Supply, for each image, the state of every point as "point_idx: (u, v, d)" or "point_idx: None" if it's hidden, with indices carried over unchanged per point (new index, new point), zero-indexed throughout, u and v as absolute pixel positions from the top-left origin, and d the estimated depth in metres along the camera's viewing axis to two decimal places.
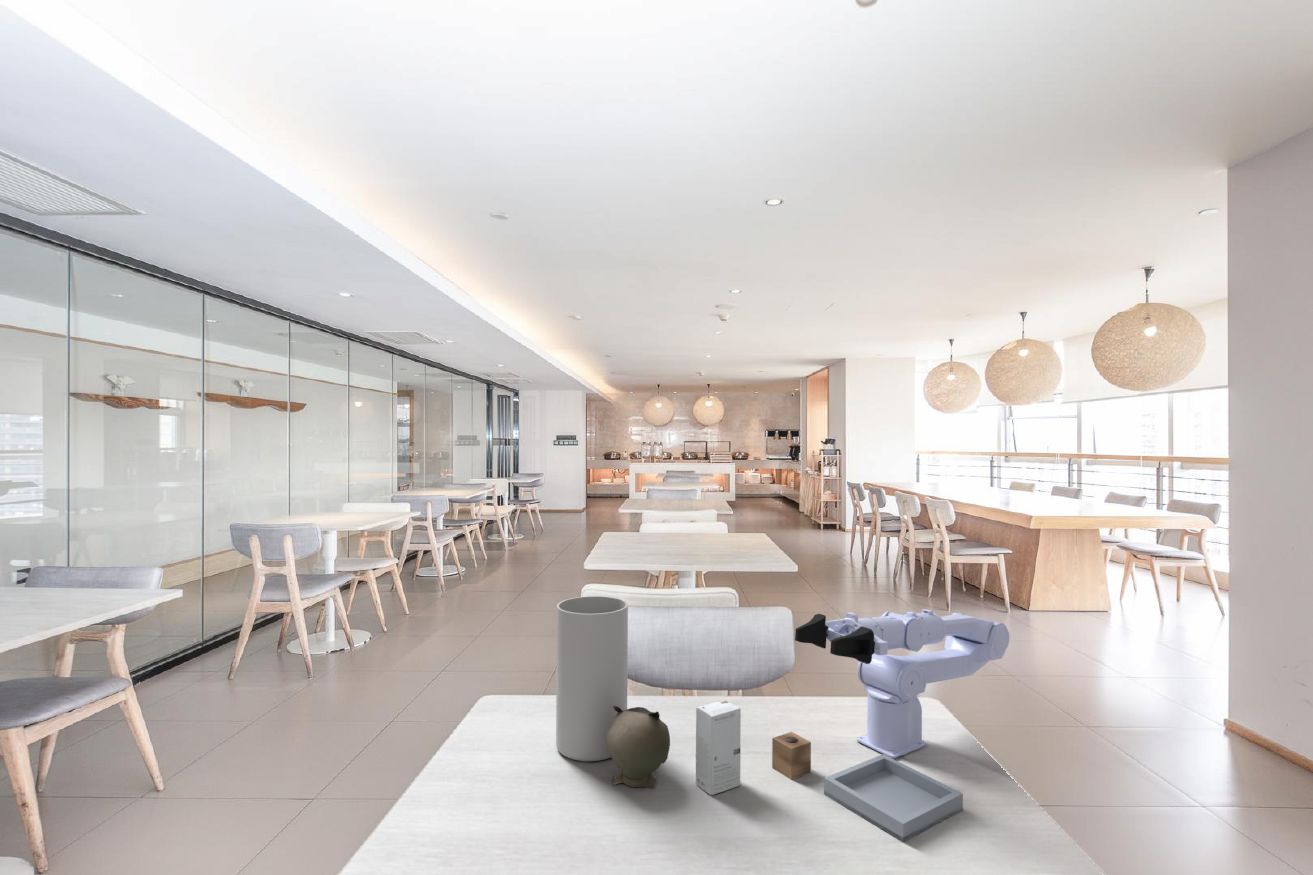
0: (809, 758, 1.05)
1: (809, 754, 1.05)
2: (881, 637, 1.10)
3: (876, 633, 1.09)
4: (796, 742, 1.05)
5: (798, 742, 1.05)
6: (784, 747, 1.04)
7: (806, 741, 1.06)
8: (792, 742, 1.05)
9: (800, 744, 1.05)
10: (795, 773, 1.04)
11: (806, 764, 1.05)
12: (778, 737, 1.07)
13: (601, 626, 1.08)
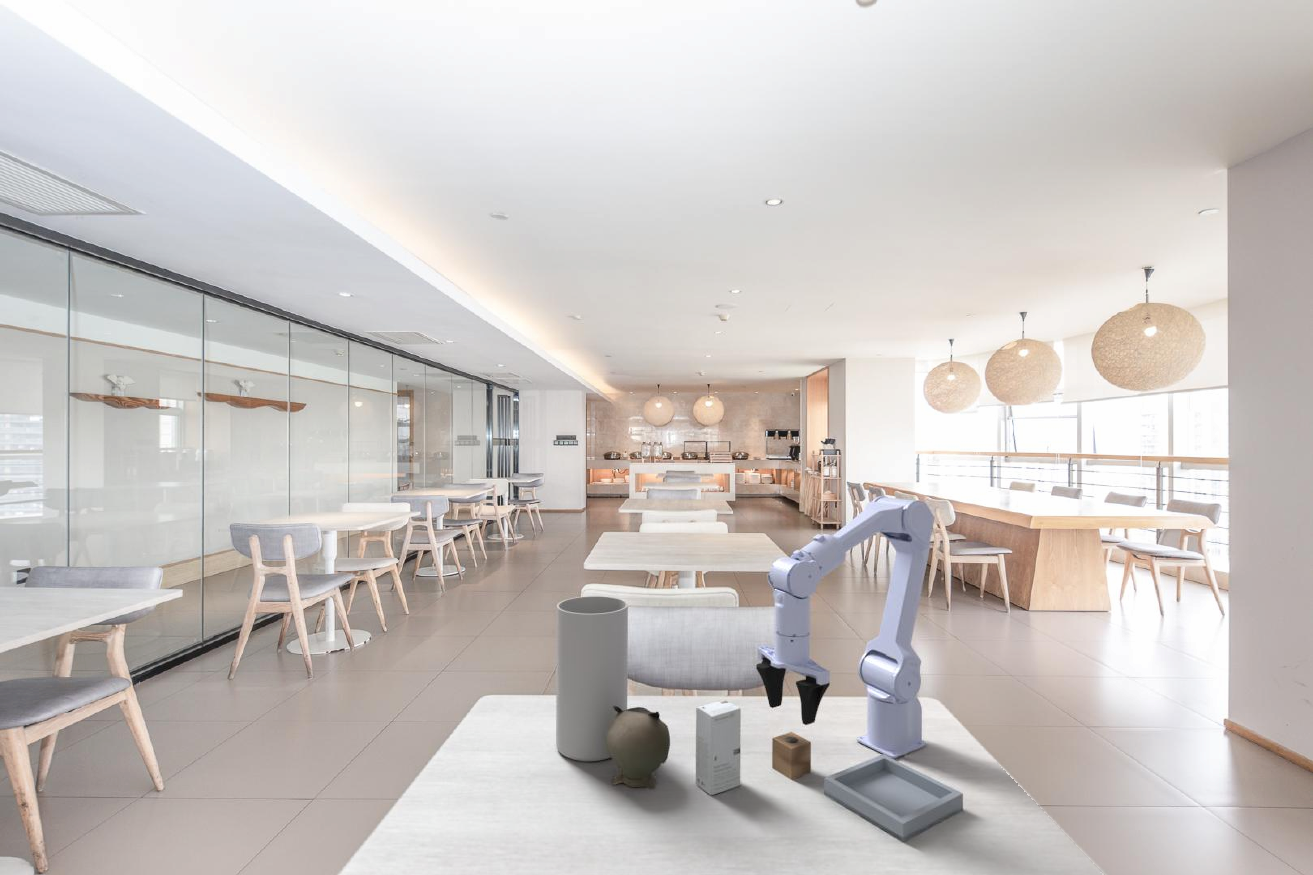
0: (809, 758, 1.05)
1: (809, 754, 1.05)
2: (803, 638, 1.04)
3: (799, 645, 1.03)
4: (796, 742, 1.05)
5: (798, 742, 1.05)
6: (784, 747, 1.04)
7: (806, 741, 1.06)
8: (792, 743, 1.05)
9: (800, 744, 1.05)
10: (795, 773, 1.04)
11: (806, 764, 1.05)
12: (778, 737, 1.07)
13: (601, 626, 1.08)
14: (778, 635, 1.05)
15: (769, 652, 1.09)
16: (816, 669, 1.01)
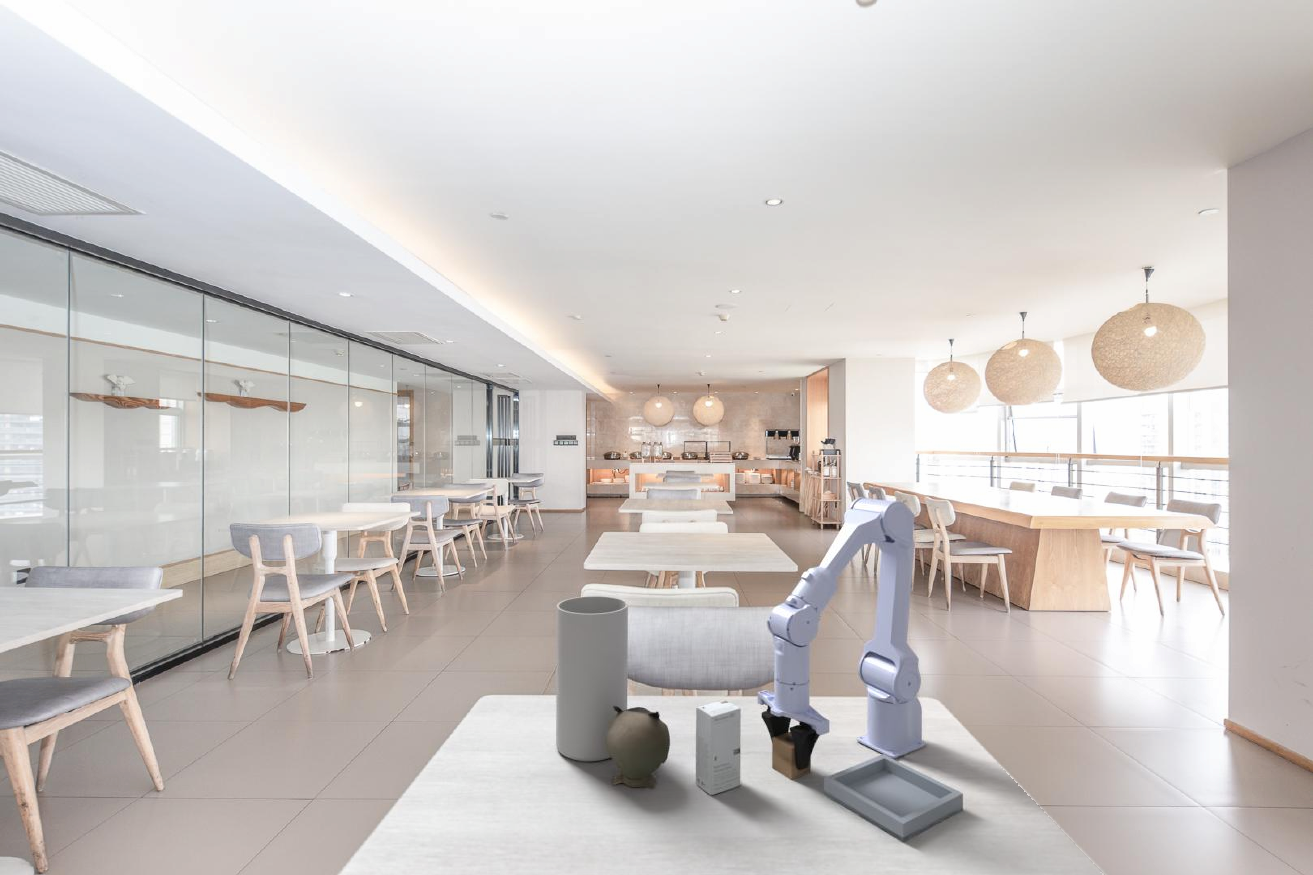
0: None
1: None
2: (803, 686, 1.04)
3: (799, 693, 1.03)
4: None
5: None
6: (784, 747, 1.04)
7: None
8: (792, 742, 1.05)
9: None
10: (795, 772, 1.04)
11: None
12: (778, 737, 1.07)
13: (601, 626, 1.08)
14: (778, 683, 1.05)
15: (769, 698, 1.09)
16: (816, 718, 1.01)
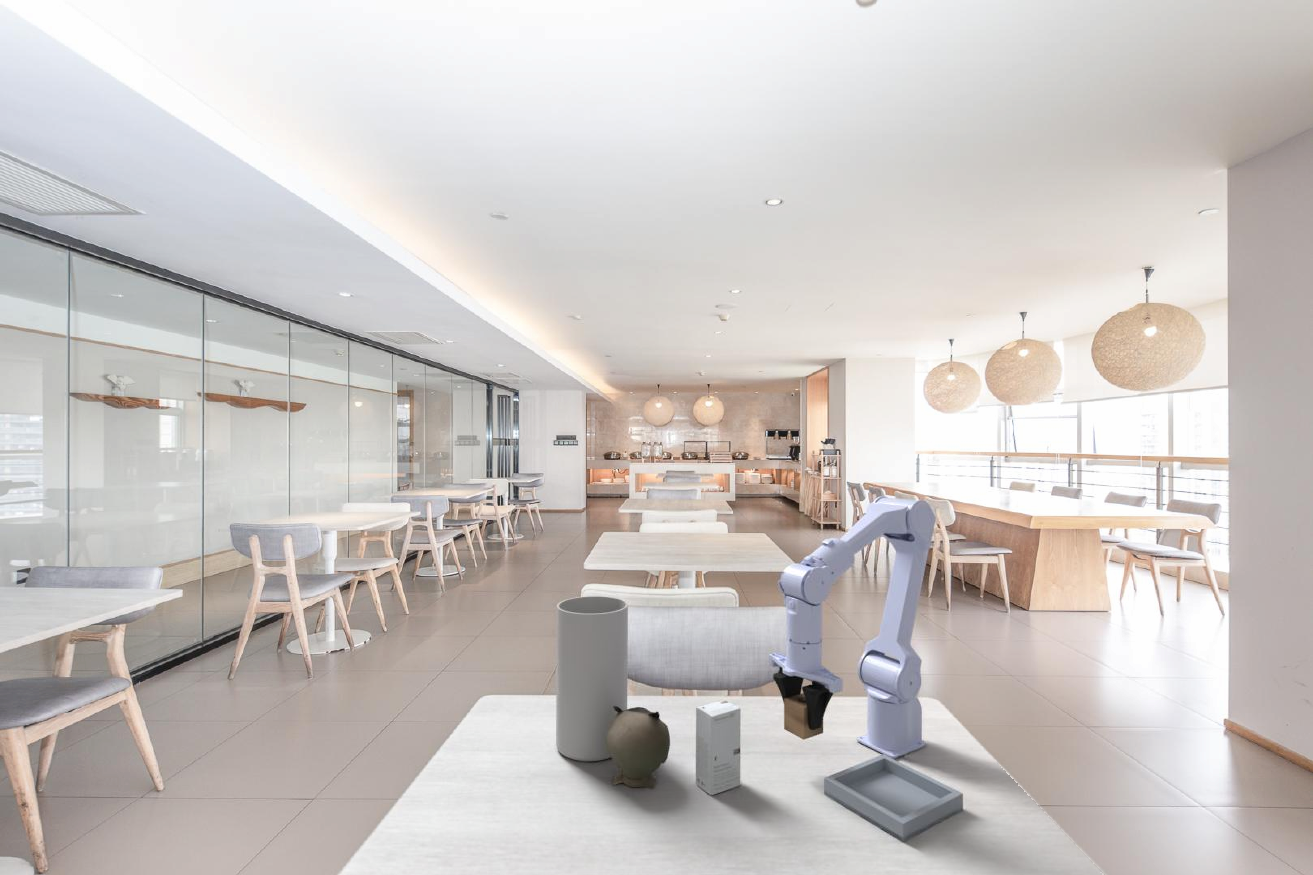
0: None
1: None
2: (815, 645, 1.02)
3: (811, 653, 1.02)
4: None
5: None
6: (796, 707, 1.03)
7: None
8: (804, 702, 1.04)
9: None
10: (808, 733, 1.02)
11: None
12: (790, 698, 1.06)
13: (601, 626, 1.08)
14: (790, 642, 1.04)
15: (781, 659, 1.08)
16: (829, 677, 1.00)
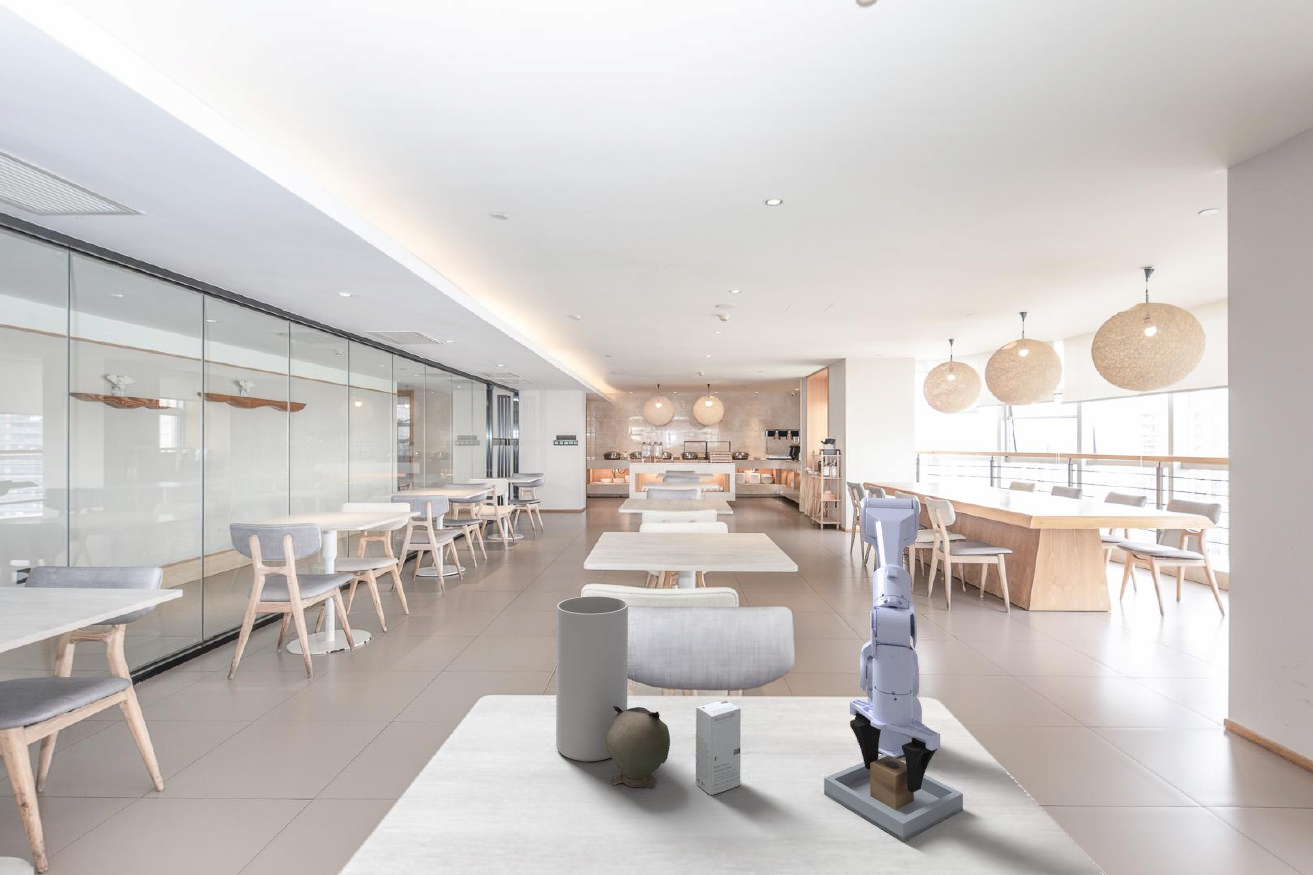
0: None
1: None
2: (907, 695, 0.94)
3: (903, 704, 0.94)
4: (898, 768, 0.96)
5: (900, 768, 0.96)
6: (886, 774, 0.95)
7: None
8: (894, 768, 0.96)
9: (903, 769, 0.95)
10: (899, 802, 0.94)
11: (909, 792, 0.95)
12: (876, 762, 0.97)
13: (601, 626, 1.08)
14: (879, 692, 0.95)
15: (864, 708, 1.00)
16: (924, 731, 0.92)
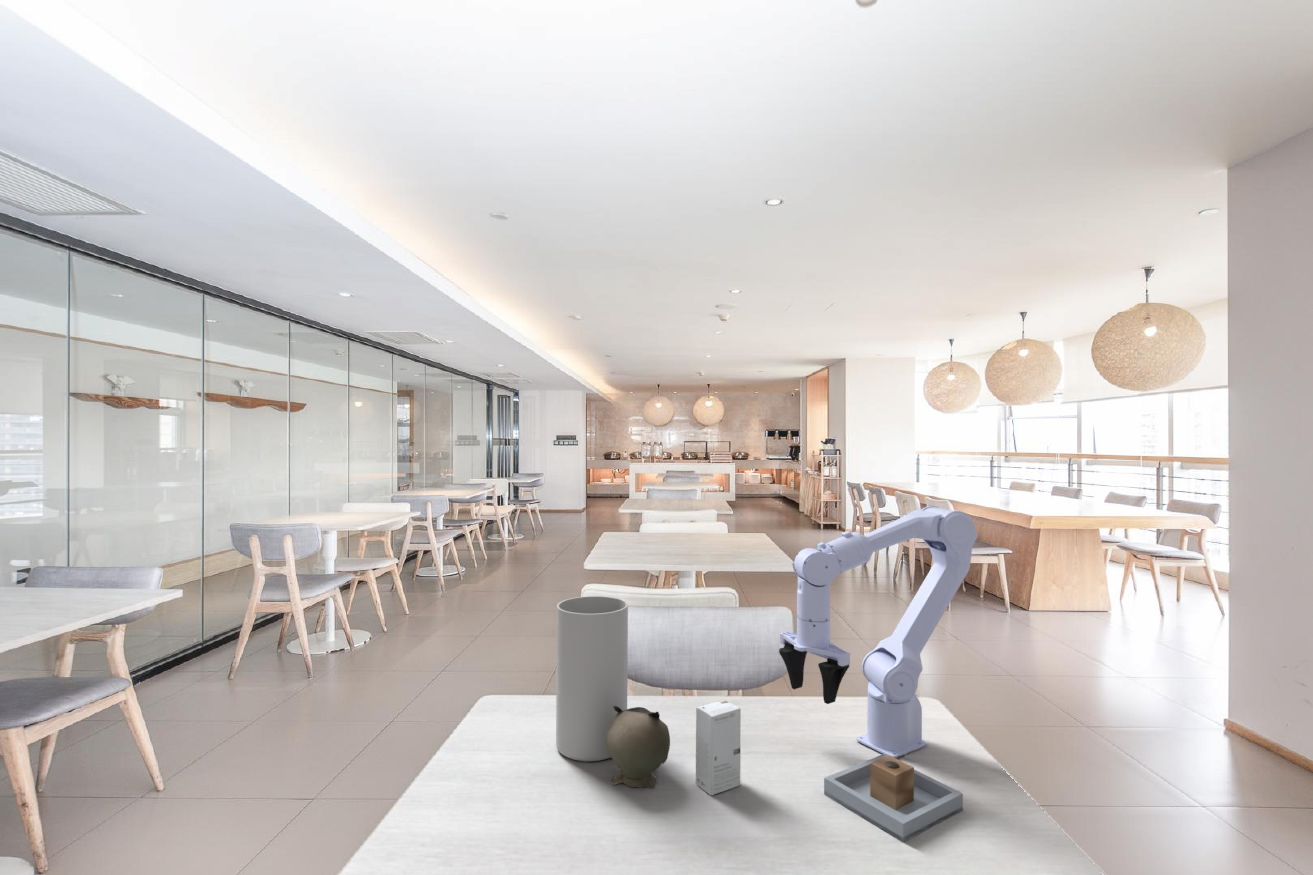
0: (912, 785, 0.96)
1: (912, 781, 0.96)
2: (824, 623, 1.11)
3: (821, 630, 1.11)
4: (898, 768, 0.96)
5: (900, 768, 0.96)
6: (886, 774, 0.95)
7: (909, 766, 0.96)
8: (894, 768, 0.96)
9: (903, 769, 0.95)
10: (899, 802, 0.94)
11: (909, 792, 0.95)
12: (876, 762, 0.97)
13: (601, 626, 1.08)
14: (801, 621, 1.12)
15: (791, 637, 1.17)
16: (837, 652, 1.09)
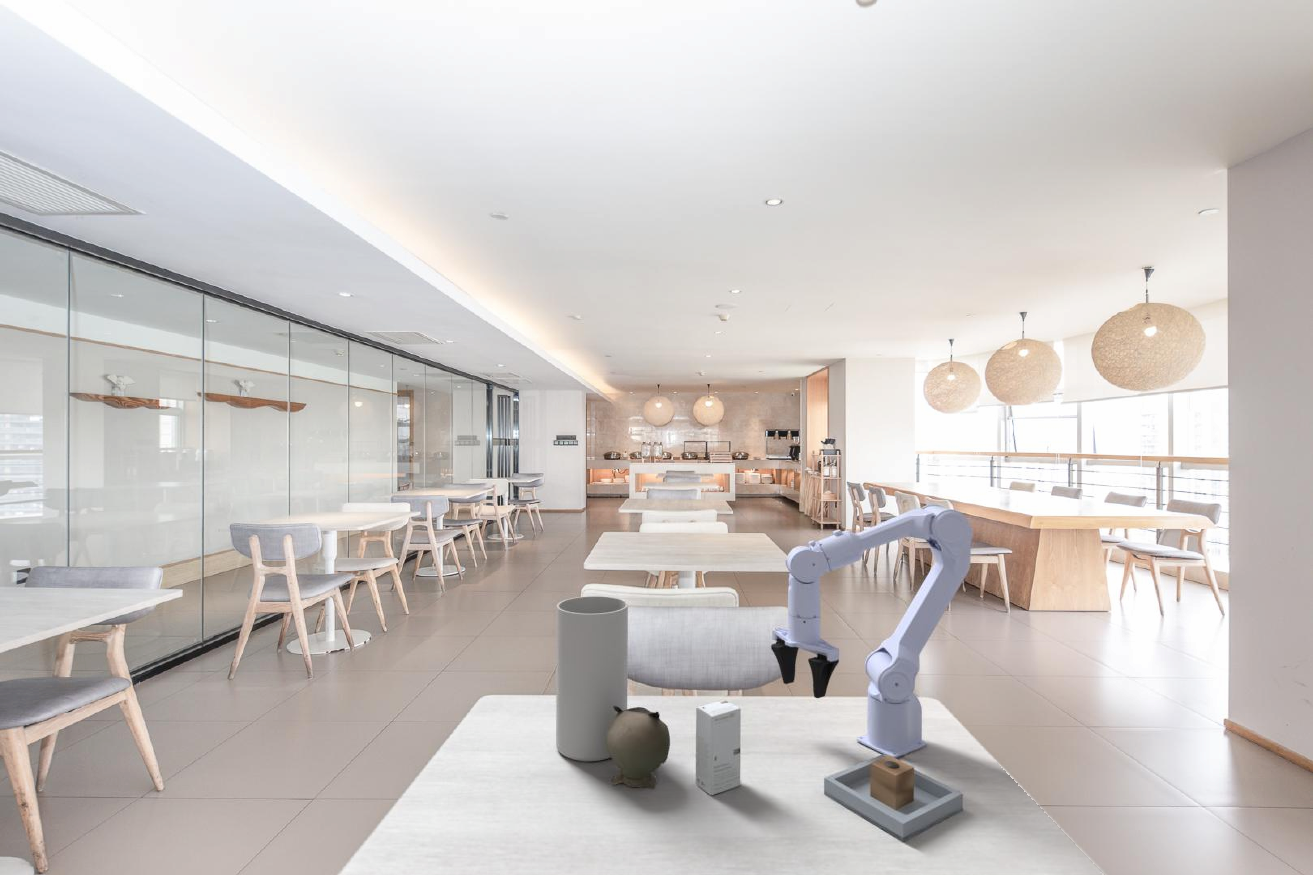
0: (912, 785, 0.96)
1: (912, 781, 0.96)
2: (814, 619, 1.14)
3: (811, 626, 1.13)
4: (898, 768, 0.96)
5: (900, 768, 0.96)
6: (886, 774, 0.95)
7: (909, 766, 0.96)
8: (894, 768, 0.96)
9: (903, 769, 0.95)
10: (899, 802, 0.94)
11: (909, 792, 0.95)
12: (876, 762, 0.97)
13: (601, 626, 1.08)
14: (791, 617, 1.15)
15: (783, 633, 1.19)
16: (827, 647, 1.11)
